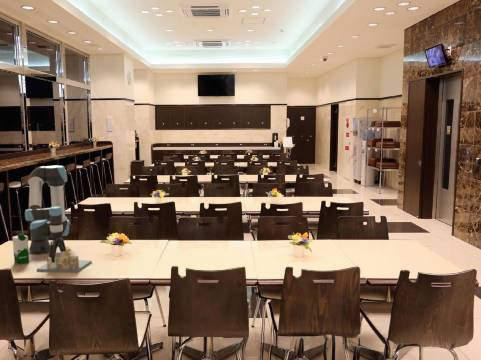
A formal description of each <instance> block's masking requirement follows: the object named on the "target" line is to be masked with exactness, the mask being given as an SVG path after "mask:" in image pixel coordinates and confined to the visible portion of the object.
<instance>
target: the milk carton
mask: <svg viewBox="0 0 481 360" xmlns="http://www.w3.org/2000/svg"><path fill="white" fill-rule="evenodd" d="M12 244H13V245H12V246H13V259H14V263H15V264H16V265H23V264H27V263H28V264H29V263H30V253H29V248H30V247H29V236H27V235H25V233H18V234H17V235H15V236H12Z"/></svg>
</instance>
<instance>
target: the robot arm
mask: <svg viewBox="0 0 481 360" xmlns="http://www.w3.org/2000/svg"><path fill="white" fill-rule="evenodd" d="M28 176H29V177H28V180H27V184H28V185H29V192H28V193H29V196H28V209H25V211H24V218H25V221H26V222H30V226H29V229H30V245H29V247H28V248H29V255H44V254H49V256H48V257H50V258H51V263H52V267H56V257H55V256H57V255H56V254H57V250H58V249H59V256H64V251H66V250H65V249H66V247H67V246H66V245H65V241H64V240H65V239H64V236H68V235H69V231H70V220H69V219H68V217H67V216H66V214H65V197H64V196H65V195H64V194H65V193H64V186H65V185H66V183H67V182H68V176H67V171H66V167H65V166H64V165H47V166H44V165H43V166H38V167H36V168H35V169H33V170H32V171H31V173H30V174H29V175H28ZM46 183H47V185H48V187H50V198H51V199H50V201H51V206H50V207H46V208H42V201H43V200H42V199H43V197H42V193H43V191H42V189H43V185H44V184H46ZM49 238H50V239H52V241H49Z"/></svg>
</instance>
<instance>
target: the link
mask: <svg viewBox="0 0 481 360" xmlns="http://www.w3.org/2000/svg"><path fill="white" fill-rule="evenodd" d="M55 257H56V267H52V263H51V258H50V257H49V256H48V257H46V264H47V269H65V270H75V269H76V268H78V267H79V260H80V259H79V256H78V255H74V258H70V255H69V256H68V257H66V256H60V255H59V256H57V255H55Z"/></svg>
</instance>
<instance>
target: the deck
mask: <svg viewBox="0 0 481 360" xmlns="http://www.w3.org/2000/svg"><path fill="white" fill-rule="evenodd" d="M65 247H66V249H65V250H66V251H64V256H66V257H68V256H70V258H74V256H75V254H69V252H71V251H72V249H71V248H70V247H69V246H65ZM92 263H93V262H92V260H87V259H86V260H85V259H83V260H81V259H79V267H78V268H76V269H75V270H65V269H47V263H45V264H43V265H41V266H39V267H37V268H36V272H46V273H47V272H48V273H49V272H50V273H53V272H54V273H69V272H70V273H72V274H73V273H74V274H77V273H78V272H80V271H82V270H83V269H85V268H86V267H88V266H89V265H91V264H92Z"/></svg>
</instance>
